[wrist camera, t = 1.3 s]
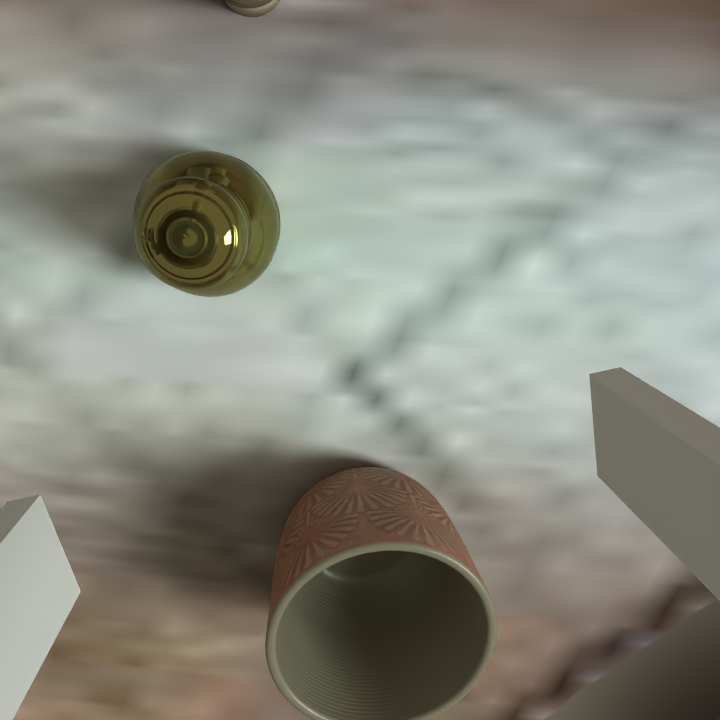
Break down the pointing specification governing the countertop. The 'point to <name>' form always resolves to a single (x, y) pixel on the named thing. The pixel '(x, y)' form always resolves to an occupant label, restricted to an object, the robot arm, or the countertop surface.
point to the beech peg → (252, 6)
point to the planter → (375, 603)
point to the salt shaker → (206, 223)
